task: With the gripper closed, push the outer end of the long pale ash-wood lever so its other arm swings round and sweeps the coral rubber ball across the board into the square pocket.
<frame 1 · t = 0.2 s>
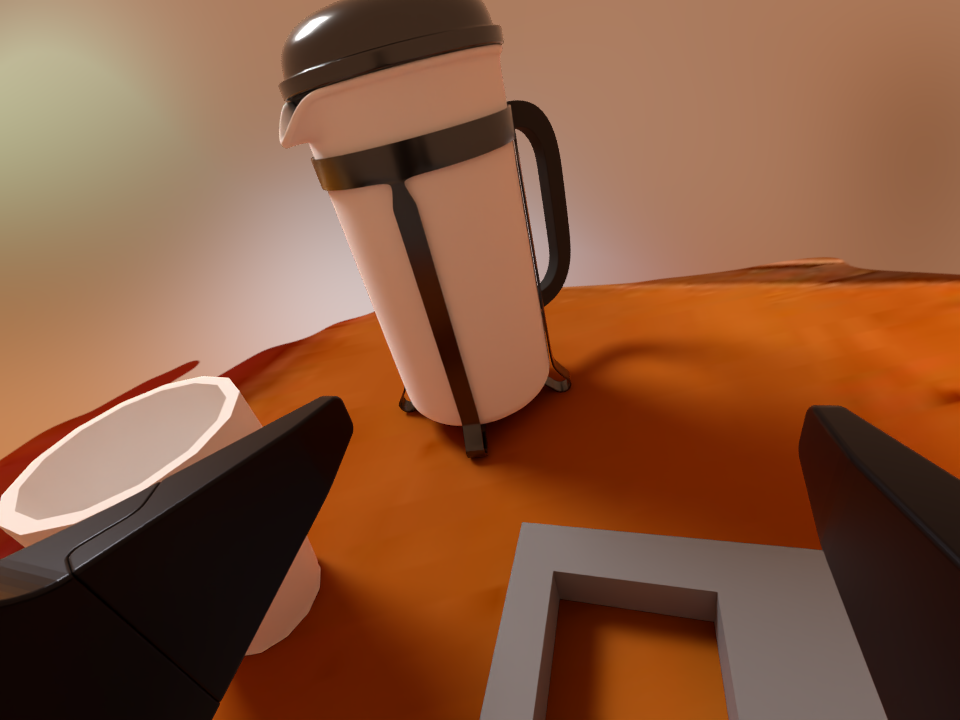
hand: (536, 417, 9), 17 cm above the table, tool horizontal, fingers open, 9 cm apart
foam cup: (270, 599, 26), on the table
coffee press: (492, 390, 39), on the table
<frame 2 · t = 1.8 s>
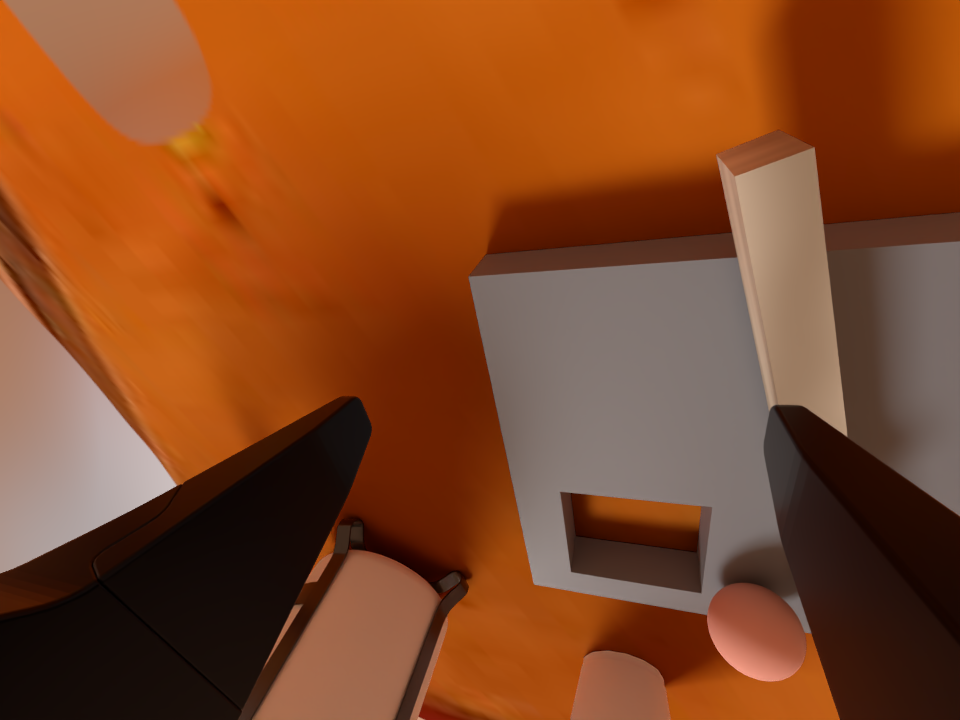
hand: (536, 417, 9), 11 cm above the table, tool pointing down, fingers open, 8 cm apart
board: (696, 444, 21), on the table
foam cup: (622, 669, 36), on the table
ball: (754, 629, 21), point 4 cm above the table, touching board
lever: (817, 494, 15), point 5 cm above the table, hinge at 15.0°
coffee press: (380, 564, 38), on the table
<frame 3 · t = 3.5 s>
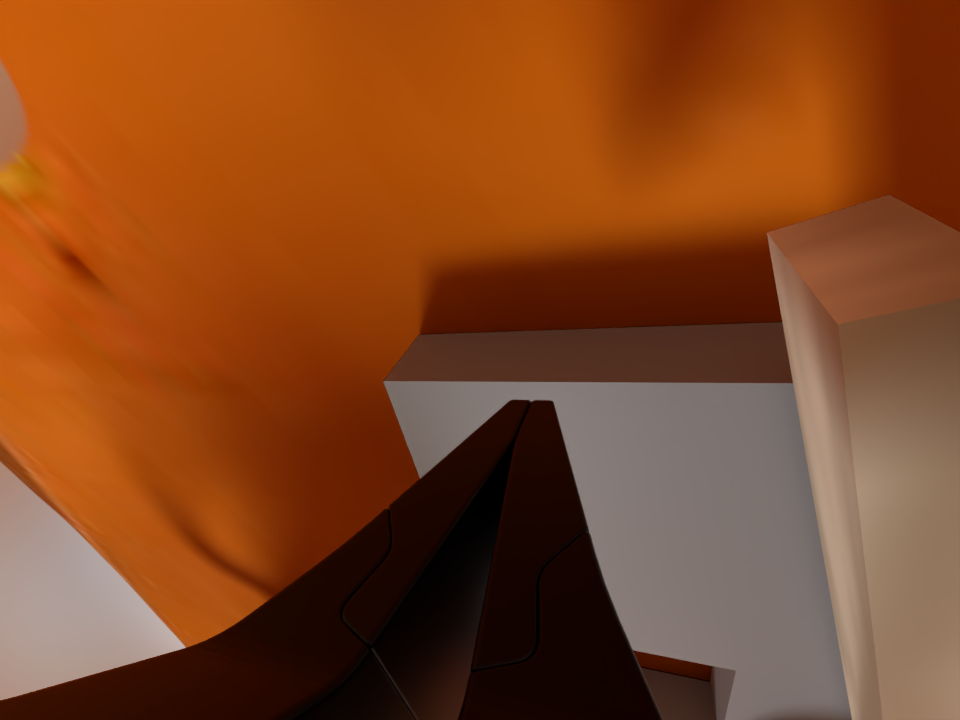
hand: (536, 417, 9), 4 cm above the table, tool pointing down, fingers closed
board: (712, 573, 16), on the table
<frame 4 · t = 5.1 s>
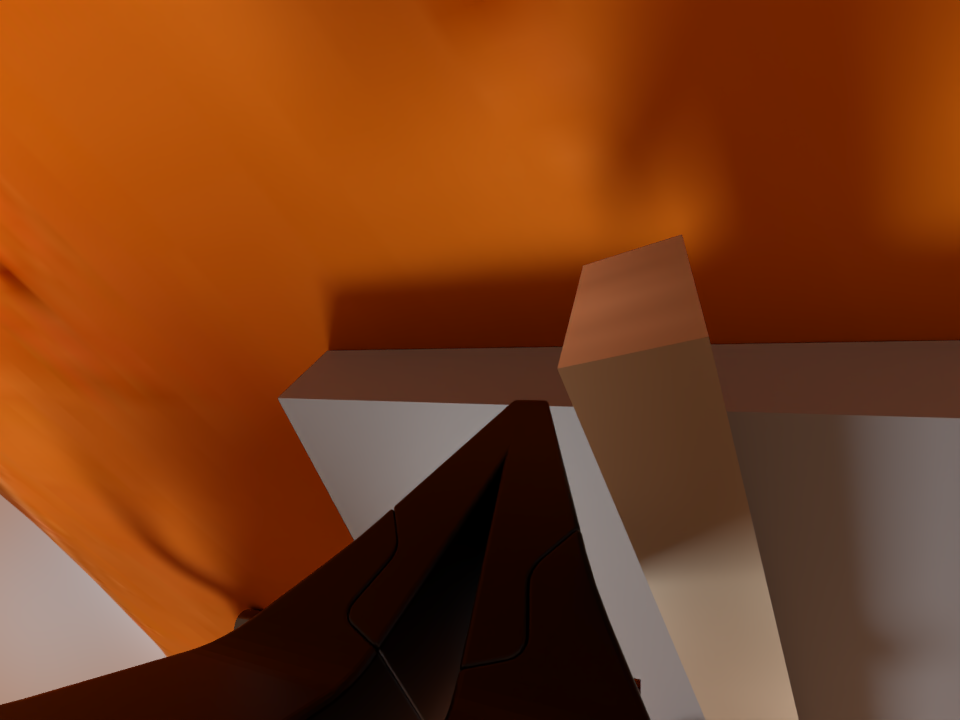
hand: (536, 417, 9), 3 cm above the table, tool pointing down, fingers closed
board: (626, 583, 16), on the table
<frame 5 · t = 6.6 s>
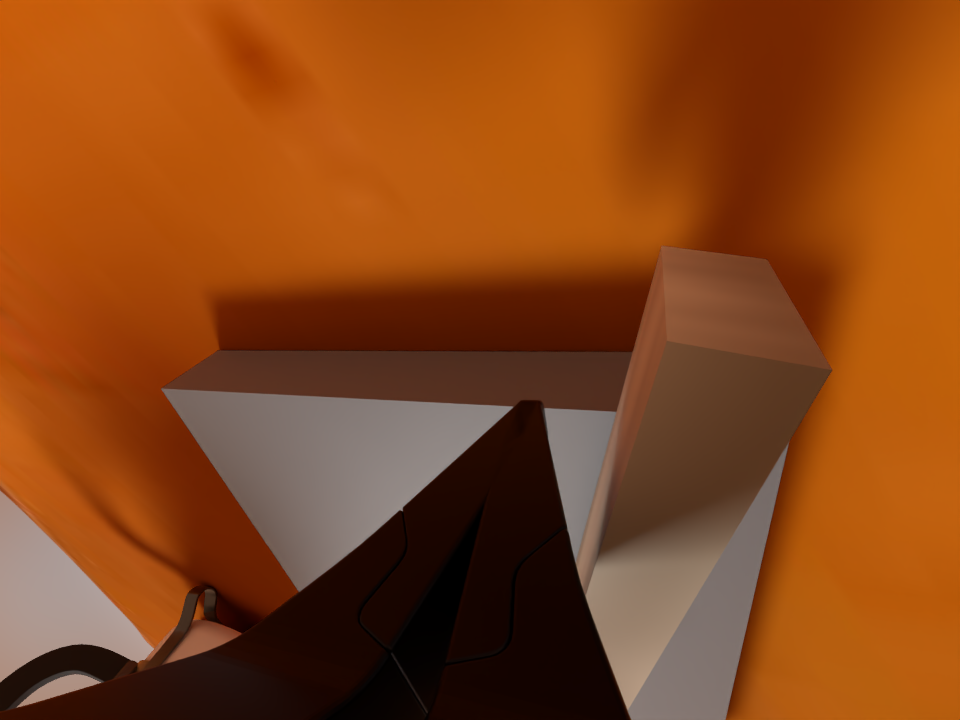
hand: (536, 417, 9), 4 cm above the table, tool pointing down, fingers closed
board: (486, 559, 19), on the table
lever: (577, 689, 12), point 5 cm above the table, hinge at -12.8°, touching gripper
coffee press: (248, 629, 36), on the table
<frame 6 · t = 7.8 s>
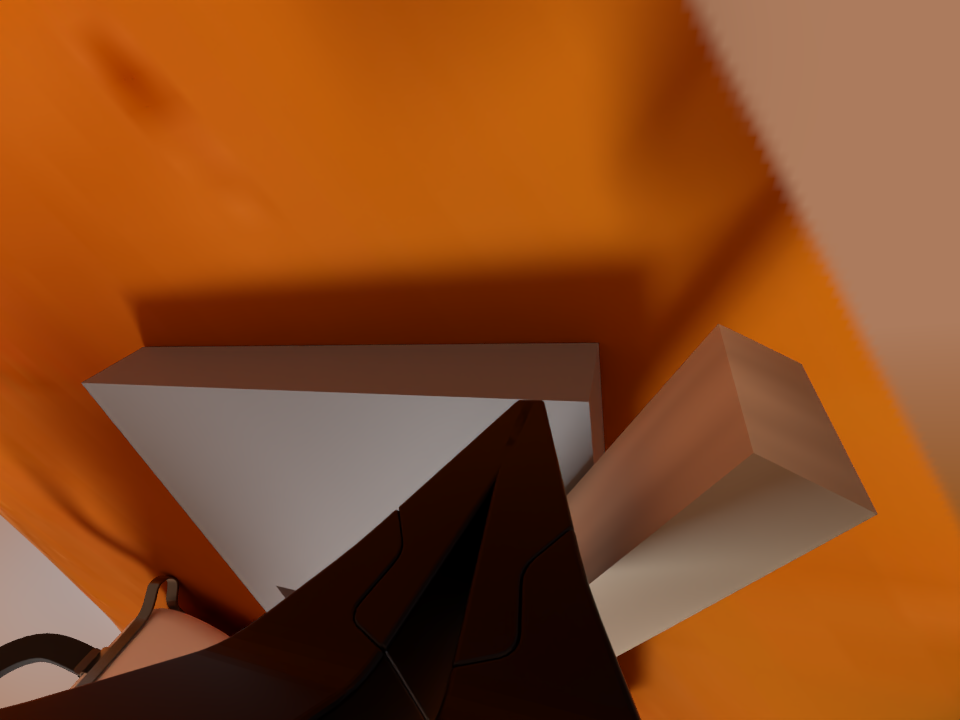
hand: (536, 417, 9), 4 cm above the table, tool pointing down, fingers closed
board: (407, 541, 20), on the table
lever: (482, 664, 13), point 5 cm above the table, hinge at -31.8°, touching gripper
coffee press: (213, 618, 37), on the table
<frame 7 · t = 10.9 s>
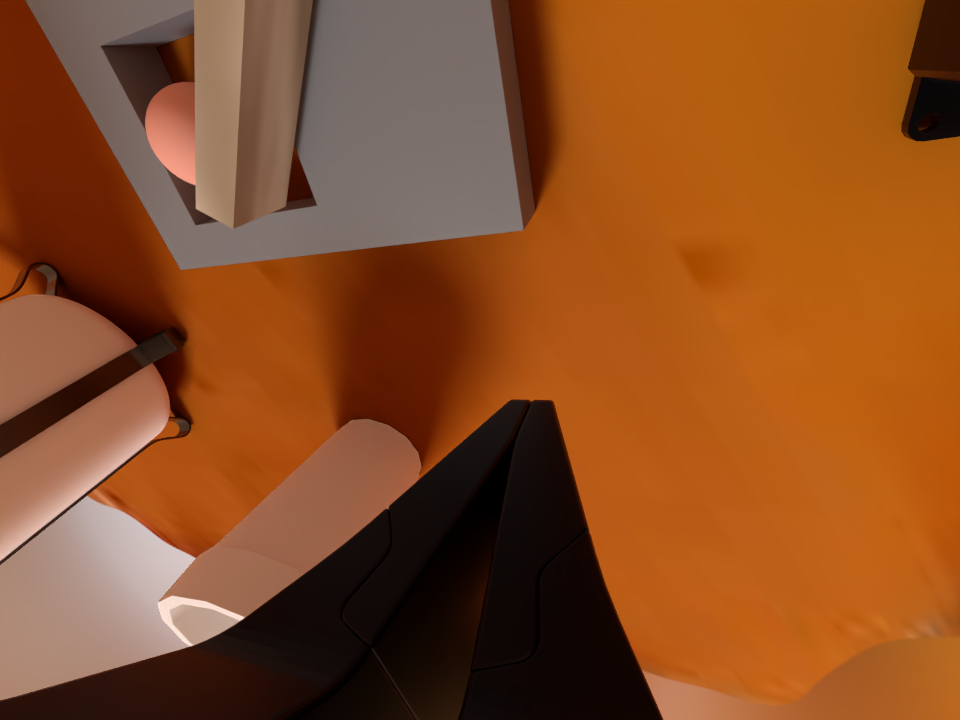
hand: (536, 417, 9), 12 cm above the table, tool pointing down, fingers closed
foam cup: (380, 451, 30), on the table
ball: (204, 137, 18), point 2 cm above the table, tilted 121°
coffee press: (111, 348, 33), on the table
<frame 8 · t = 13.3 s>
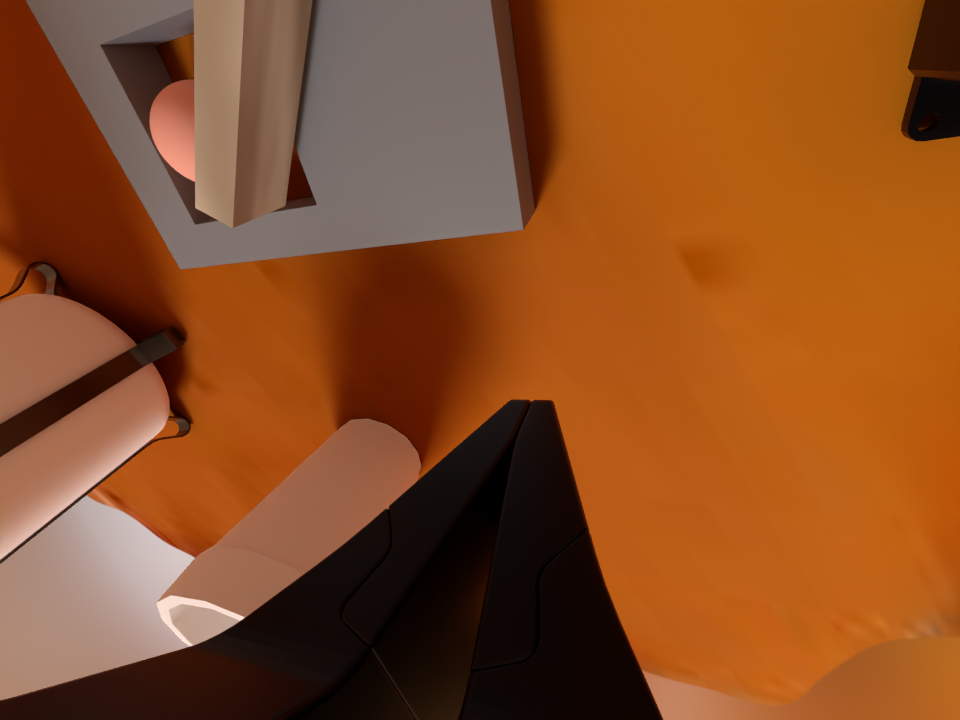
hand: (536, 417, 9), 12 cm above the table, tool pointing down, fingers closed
foam cup: (380, 451, 30), on the table
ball: (209, 135, 18), point 2 cm above the table, tilted 113°
coffee press: (110, 347, 33), on the table
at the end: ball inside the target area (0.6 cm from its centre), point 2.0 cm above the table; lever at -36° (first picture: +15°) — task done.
